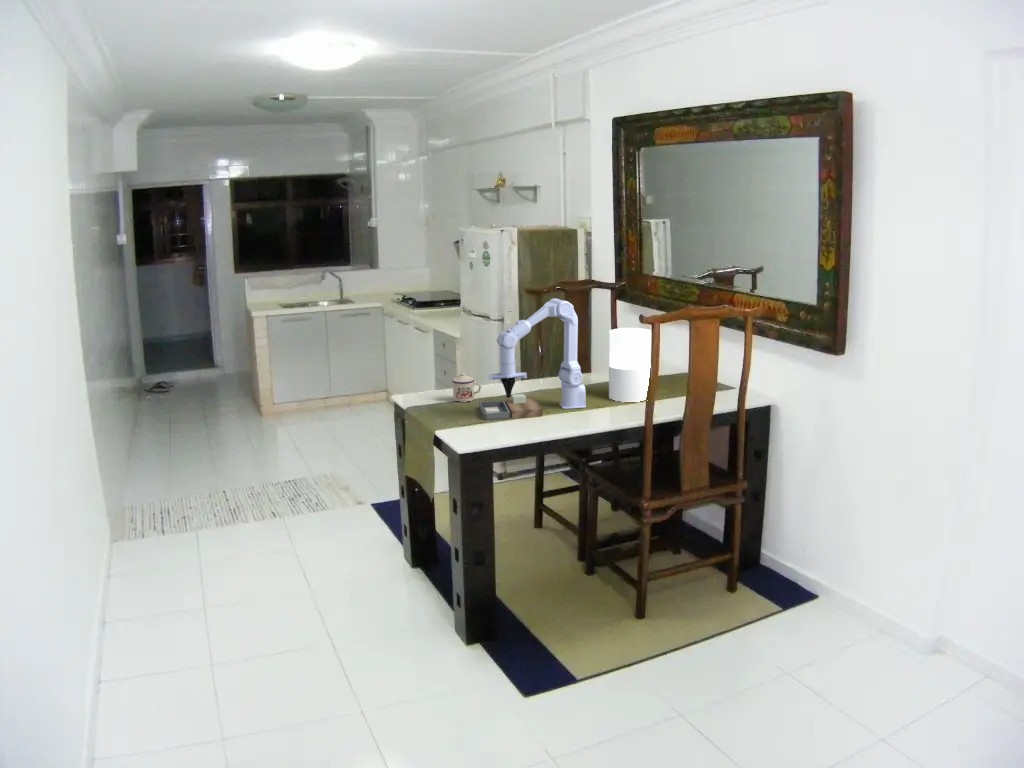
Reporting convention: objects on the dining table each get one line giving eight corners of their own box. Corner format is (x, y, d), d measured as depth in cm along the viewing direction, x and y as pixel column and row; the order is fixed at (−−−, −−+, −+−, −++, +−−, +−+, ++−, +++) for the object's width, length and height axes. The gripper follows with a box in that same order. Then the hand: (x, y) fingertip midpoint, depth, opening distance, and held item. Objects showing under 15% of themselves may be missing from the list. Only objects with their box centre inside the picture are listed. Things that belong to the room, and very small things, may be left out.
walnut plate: (534, 404, 344) (534, 397, 344) (542, 416, 327) (542, 409, 326) (505, 406, 343) (504, 399, 342) (511, 418, 325) (511, 411, 325)
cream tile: (484, 407, 330) (484, 413, 331) (486, 411, 325) (486, 417, 326) (497, 407, 331) (497, 413, 332) (498, 410, 326) (499, 416, 327)
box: (503, 406, 343) (503, 400, 342) (510, 418, 325) (510, 412, 325) (479, 408, 341) (479, 402, 341) (484, 420, 324) (484, 414, 323)
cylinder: (605, 393, 360) (606, 328, 354) (645, 391, 361) (646, 327, 355) (612, 403, 344) (613, 335, 337) (654, 402, 345) (655, 334, 338)
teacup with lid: (454, 403, 349) (453, 376, 346) (451, 398, 358) (450, 371, 355) (483, 401, 351) (482, 374, 348) (479, 396, 360) (478, 369, 357)
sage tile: (524, 399, 341) (523, 393, 340) (526, 402, 336) (526, 396, 336) (511, 400, 340) (511, 394, 340) (513, 403, 335) (513, 397, 335)
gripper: (490, 366, 320) (491, 400, 323) (527, 363, 322) (528, 398, 325) (487, 362, 327) (488, 396, 330) (524, 360, 329) (525, 393, 332)
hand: (508, 396), depth 328 cm, fingers closed
